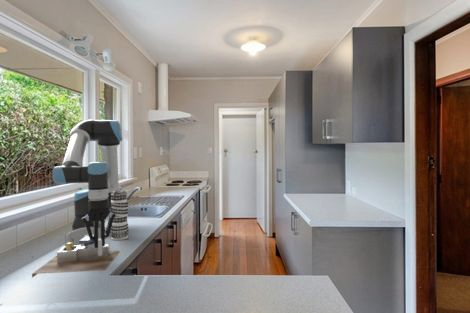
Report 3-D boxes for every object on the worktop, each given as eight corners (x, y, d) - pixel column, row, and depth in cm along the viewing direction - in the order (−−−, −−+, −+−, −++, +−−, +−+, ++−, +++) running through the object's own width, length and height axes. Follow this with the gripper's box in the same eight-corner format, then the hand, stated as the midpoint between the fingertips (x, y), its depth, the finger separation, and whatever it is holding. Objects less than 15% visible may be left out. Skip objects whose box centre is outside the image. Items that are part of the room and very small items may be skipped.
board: (59, 256, 123) (59, 253, 123) (120, 253, 126) (120, 250, 126) (32, 276, 104) (32, 273, 104) (105, 273, 107) (105, 269, 106)
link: (57, 262, 113) (56, 248, 113) (63, 256, 120) (63, 242, 120) (107, 258, 118) (107, 244, 117) (110, 252, 124) (110, 239, 124)
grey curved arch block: (66, 252, 128) (64, 230, 130) (64, 253, 131) (62, 231, 133) (105, 243, 139) (102, 223, 141) (102, 244, 142) (99, 225, 144)
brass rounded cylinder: (68, 259, 120) (67, 242, 119) (75, 259, 120) (74, 241, 120) (64, 262, 117) (64, 244, 116) (71, 261, 117) (71, 244, 117)
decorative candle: (110, 241, 142) (109, 192, 142) (110, 236, 151) (109, 190, 150) (129, 238, 146) (128, 191, 145) (128, 233, 155) (127, 189, 154)
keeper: (86, 255, 124) (86, 234, 124) (98, 254, 125) (97, 234, 125) (78, 262, 116) (78, 240, 116) (91, 262, 117) (90, 240, 117)
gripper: (82, 202, 109) (83, 261, 110) (117, 198, 117) (118, 253, 118) (79, 199, 115) (80, 255, 116) (113, 196, 123) (114, 248, 124)
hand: (99, 254), depth 117 cm, fingers closed
